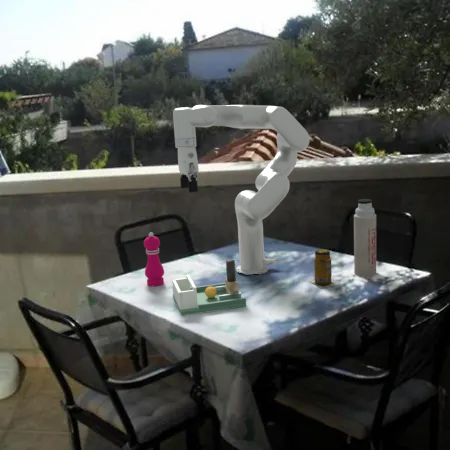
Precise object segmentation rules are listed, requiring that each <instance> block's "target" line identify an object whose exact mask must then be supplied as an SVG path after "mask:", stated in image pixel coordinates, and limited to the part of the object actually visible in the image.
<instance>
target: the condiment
mask: <svg viewBox="0 0 450 450" xmlns="http://www.w3.org/2000/svg"><path fill="white" fill-rule="evenodd" d="M313 261H314V263H313V264H314V267H313V269H314V273H313V274H314V279H313V280H309V282H310V283H312V284H314V285H315V286H317V287H318V288H320V289H322V288H323V289H324V288H329V287H334V286H338V285H339V284H338V283H337V282H335V281H333V280H332V271H333V270H332V258H331V251H330V250H329V249H328V248H327V249H326V248H318V249H316V250H315V251H314V259H313Z"/></svg>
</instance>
